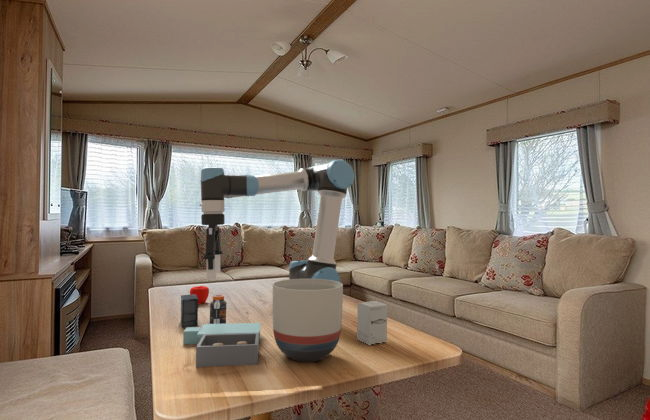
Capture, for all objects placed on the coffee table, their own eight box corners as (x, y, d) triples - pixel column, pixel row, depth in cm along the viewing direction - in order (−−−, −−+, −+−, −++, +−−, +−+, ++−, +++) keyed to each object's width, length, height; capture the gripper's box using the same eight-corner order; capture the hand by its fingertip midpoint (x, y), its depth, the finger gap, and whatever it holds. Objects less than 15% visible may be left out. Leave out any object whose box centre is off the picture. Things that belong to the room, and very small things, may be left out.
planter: (283, 376, 96) (285, 292, 96) (263, 351, 114) (264, 280, 115) (354, 365, 104) (355, 287, 105) (325, 343, 123) (325, 277, 123)
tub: (258, 353, 113) (258, 333, 113) (257, 367, 102) (257, 344, 102) (203, 355, 110) (203, 334, 111) (195, 370, 99) (196, 347, 100)
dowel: (247, 355, 108) (247, 341, 108) (246, 359, 105) (246, 344, 106) (237, 356, 108) (237, 341, 108) (236, 359, 105) (236, 344, 105)
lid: (260, 336, 129) (260, 322, 129) (259, 348, 117) (259, 332, 117) (188, 338, 125) (189, 324, 126) (180, 350, 114) (180, 334, 114)
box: (180, 322, 145) (181, 295, 146) (195, 321, 148) (196, 294, 148) (181, 328, 138) (182, 299, 138) (197, 326, 140) (198, 297, 141)
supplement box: (368, 346, 120) (369, 306, 121) (356, 339, 127) (356, 302, 127) (387, 343, 124) (387, 304, 124) (374, 336, 130) (374, 300, 131)
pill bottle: (221, 328, 138) (222, 297, 138) (206, 327, 139) (207, 296, 140) (228, 324, 144) (229, 294, 144) (214, 323, 145) (215, 293, 145)
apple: (195, 300, 185) (195, 284, 185) (212, 301, 184) (212, 285, 184) (185, 304, 176) (186, 287, 176) (203, 305, 175) (204, 288, 175)
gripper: (206, 213, 139) (207, 271, 139) (194, 213, 115) (195, 283, 114) (227, 213, 140) (228, 270, 140) (220, 212, 116) (221, 282, 116)
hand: (213, 276), depth 127 cm, fingers open, 13 cm apart
